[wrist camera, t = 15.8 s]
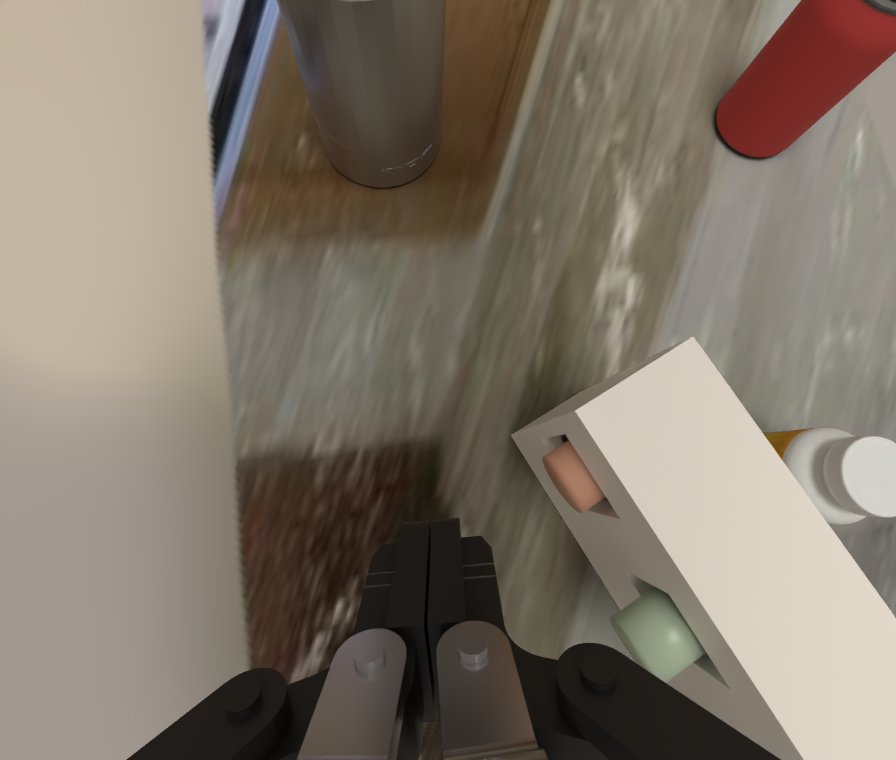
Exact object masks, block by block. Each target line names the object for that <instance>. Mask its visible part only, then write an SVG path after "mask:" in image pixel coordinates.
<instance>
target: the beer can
mask: <svg viewBox="0 0 896 760" xmlns="http://www.w3.org/2000/svg"><path fill="white" fill-rule="evenodd" d="M895 52H896V0H801V1H800V3H799V4H798V5H797V6H796V8H795V9H794V10H793V11H792V13H791V14H790V15H789V16H788V18H787V19H786V20H785V21H784V23H783V24H782V25H781V26H780V28H779V29H778V30H777V31H776V33H775V34H774V35H773V36H772V38H771V39H770V40H769V41H768V43H767V44H766V45H765V46H764V48H763V49H762V50H761V51H760V53H759V54H758V55H757V56H756V58H755V59H754V60H753V61H752V63H751V64H750V65H749V66H748V68H747V69H746V70H745V71H744V73H743V74H742V75H741V76H740V78H739V79H738V80H737V81H736V83H735V84H734V85H733V86H732V88H731V89H730V90H729V91H728V93H727V94H726V95H725V96H724V98H723V99H722V100H721V101H720V104H719V107H718V110H717V114H716V116H717V127H718V129H719V131H720V134H721V136H722V138H723V139H724V140H725V141H726V142H727V144H728V145H729V146H731V147H732V148H733V149H735V150H736V151H738V152H740V153H742V154H745V155H748V156H753V157H767V156H772V155H776V154H778V153H780V152H781V151H783V150H785V149H786V148H787V147H789V146H790V145H791V144H792V143H793V142H794V141H795V140H796V139H798V138H799V137H800V136H801V135H802V134H803V133H804V132H805V131H807V130H808V129H809V128H810V127H811V126H812V125H813V124H814V123H816V122H817V121H818V120H819V119H820V118H821V117H822V116H824V115H825V114H826V113H827V112H828V111H829V110H830V109H831V108H833V107H834V106H835V105H836V104H837V103H838V102H839V101H840V100H842V99H843V98H844V97H845V96H846V95H847V94H848V93H849V92H851V91H852V90H853V89H854V88H855V87H856V86H857V85H858V84H860V83H861V82H862V81H863V80H864V79H865V78H866V77H867V76H869V75H870V74H871V73H872V72H873V71H874V70H875V69H876V68H877V67H879V66H880V65H881V64H882V63H883V62H884V61H886V60H887V59H888V58H889V57H890V56H891V55H892V54H893V53H895Z"/></svg>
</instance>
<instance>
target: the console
mask: <svg viewBox="0 0 896 760" xmlns="http://www.w3.org/2000/svg"><path fill="white" fill-rule="evenodd" d="M511 437H512V438H513V440H514V442H515V443H516V445H517V446H518V448H519V450H520V451H521V453H522V454H523V456H524V458H525V459H526V461H527V462H528V464H529V465H530V467H531V469H532V470H533V472H534V473H535V475H536V477H537V478H538V480H539V481H540V483H541V485H542V486H543V488H544V489H545V491H546V493H547V494H548V496H549V497H550V499H551V501H552V502H553V504H554V505H555V507H556V509H557V510H558V512H559V513H560V515H561V516H562V518H563V520H564V521H565V523H566V524H567V526H568V528H569V529H570V531H571V532H572V534H573V536H574V537H575V539H576V540H577V542H578V544H579V545H580V547H581V548H582V550H583V552H584V553H585V555H586V556H587V558H588V560H589V561H590V563H591V564H592V566H593V568H594V569H595V571H596V572H597V574H598V575H599V577H600V579H601V580H602V582H603V583H604V585H605V587H606V588H607V590H608V591H609V593H610V595H611V596H612V598H613V599H614V601H615V603H616V604H617V606H618V607H619V609H620V610H622V609H623V608H624V607H626V606H627V605H629V604H630V603H631V602H633V601H634V600H635V599H637V598H638V597H640V596H641V595H642V594H644V593H645V592H647V591H648V590H649V589H651V588H652V587H654V586H655V587H657V588H658V589H660V590H662V591H664V592H666V593H668V594H669V595H670V597H671V598H672V600H673V601H674V603H675V604H676V606H677V608H678V609H679V611H680V612H681V614H682V615H683V617H684V618H685V620H686V621H687V623H688V625H689V626H690V628H691V629H692V631H693V632H694V634H695V635H696V637H697V638H698V640H699V642H700V643H701V645H702V646H703V648H704V649H705V651H706V653H705V654H704V655H702V656H701V657H700V658H698V659H697V660H696V661H695V662H693V663H692V664H691V665H689V666H688V667H687V668H685V669H684V670H683V671H681V672H680V673H679V674H677V675H676V676H675V677H673V678H672V679H671V680H669V681H668V682H667V684H668V685H670V686H671V687H673V688H674V689H676V690H677V691H679V692H680V693H682V694H683V695H685V696H686V697H688V698H689V699H691V700H692V701H694V702H695V703H697V704H698V705H700V706H701V707H703V708H704V709H706V710H707V711H709V712H710V713H712V714H713V715H715V716H716V717H718V718H719V719H721V720H722V721H724V722H725V723H727V724H728V725H730V726H731V727H733V728H734V729H736V730H737V731H739V732H740V733H742V734H743V735H745V736H746V737H748V738H749V739H751V740H752V741H754V742H755V743H757V744H758V745H760V746H761V747H763V748H764V749H766V750H767V751H769V752H770V753H772V754H773V755H775V756H776V757H778V758H779V759H781V760H896V618H895V616H894V615H893V614H892V612H891V611H890V609H889V608H888V607H887V605H886V604H885V602H884V601H883V600H882V598H881V597H880V596H879V594H878V593H877V591H876V590H875V589H874V587H873V586H872V584H871V583H870V582H869V580H868V579H867V577H866V576H865V575H864V573H863V572H862V571H861V569H860V568H859V566H858V565H857V564H856V562H855V561H854V559H853V558H852V557H851V555H850V554H849V552H848V551H847V550H846V548H845V547H844V545H843V544H842V543H841V541H840V540H839V539H838V537H837V536H836V534H835V533H834V532H833V530H832V529H831V527H830V526H829V525H828V523H827V522H826V520H825V519H824V518H823V516H822V515H821V513H820V512H819V511H818V509H817V508H816V507H815V505H814V504H813V502H812V501H811V500H810V498H809V497H808V495H807V494H806V493H805V491H804V490H803V488H802V487H801V486H800V484H799V483H798V481H797V480H796V479H795V477H794V476H793V475H792V473H791V472H790V470H789V469H788V468H787V466H786V465H785V463H784V462H783V461H782V459H781V458H780V456H779V455H778V454H777V452H776V451H775V449H774V448H773V447H772V445H771V444H770V443H769V441H768V440H767V438H766V437H765V436H764V434H763V433H762V431H761V430H760V429H759V427H758V426H757V424H756V423H755V422H754V420H753V419H752V417H751V416H750V415H749V413H748V412H747V411H746V409H745V408H744V406H743V405H742V404H741V402H740V401H739V399H738V398H737V397H736V395H735V394H734V392H733V391H732V390H731V388H730V387H729V385H728V384H727V383H726V381H725V380H724V379H723V377H722V376H721V374H720V373H719V372H718V370H717V369H716V367H715V366H714V365H713V363H712V362H711V360H710V359H709V358H708V356H707V355H706V353H705V352H704V351H703V349H702V348H701V347H700V345H699V344H698V342H697V341H696V340H695V338H694V337H691V338H689V339H687V340H685V341H683V342H681V343H679V344H677V345H674V346H672V347H670V348H668V349H666V350H664V351H662V352H660V353H658V354H656V355H654V356H652V357H650V358H648V359H646V360H644V361H642V362H640V363H638V364H636V365H634V366H632V367H630V368H628V369H626V370H624V371H622V372H619V373H617V374H615V375H613V376H611V377H609V378H607V379H605V380H603V381H601V382H599V383H597V384H595V385H593V386H591V387H589V388H587V389H585V390H583V391H581V392H579V393H577V394H576V395H574V396H573V397H571V398H569V399H568V400H566V401H565V402H563V403H561V404H560V405H558V406H557V407H555V408H553V409H552V410H550V411H549V412H547V413H545V414H544V415H542V416H541V417H539V418H537V419H536V420H534V421H533V422H531V423H529V424H528V425H526V426H525V427H523V428H521V429H520V430H518V431H517V432H515V433H513V434H512V435H511ZM568 440H569V441H570V442H571V444H572V445H573V447H574V448H575V450H576V452H577V453H578V455H579V456H580V458H581V459H582V461H583V462H584V464H585V465H586V467H587V469H588V470H589V472H590V473H591V475H592V476H593V478H594V479H595V481H596V482H597V484H598V486H599V487H600V489H601V490H602V492H603V493H604V495H605V496H606V497H605V498H604V499H602V500H601V501H599V502H598V503H596V504H595V505H593V506H592V507H590V508H589V509H587V510H586V511H584V512H583V513H579V512H577V511H576V510H574V509H573V508H572V507H571V506H570V505H569V504H568V503H567V501H566V500H565V499H564V498H563V497H562V495H561V494H560V493H559V491H558V490H557V488H556V487H555V486H554V484H553V482H552V481H551V479H550V477H549V476H548V474H547V472H546V470H545V467H544V465H543V461H542V457H543V456H545V455H546V454H548V453H549V452H551V451H552V450H554V449H556V448H557V447H559V446H560V445H562V444H563V443H565V442H566V441H568Z"/></svg>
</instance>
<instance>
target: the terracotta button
mask: <svg viewBox="0 0 896 760" xmlns="http://www.w3.org/2000/svg"><path fill="white" fill-rule="evenodd" d="M542 461H543V465H544V467H545V470H546V472H547V474H548V476H549V477H550V479H551V481H552V482H553V484H554V486H555V487H556V488H557V490H558V491H559V493H560V494H561V495H562V497H563V498H564V499H565V500H566V501H567V503H568V504H569V505H570V506H571V507H572V508H573V509H574V510H576V511H577V512H579V513H583V512H584V511H586V510H587V509H589V508H590V507H592V506H593V505H595V504H596V503H598V502H599V501H601V500H602V499H604V498H605V497H606V496H605V495H604V493H603V492H602V490H601V489H600V487H599V486H598V484H597V482H596V481H595V479H594V478H593V476H592V475H591V473H590V472H589V470H588V469H587V467H586V465H585V464H584V462H583V461H582V459H581V458H580V456H579V455H578V453H577V452H576V450H575V448H574V447H573V445H572V444H571V442H570V441H569V440H568V441H566V442H565V443H563V444H562V445H560V446H559V447H557V448H556V449H554V450H552V451H551V452H549V453H548V454H546V455H545V456H543V457H542Z"/></svg>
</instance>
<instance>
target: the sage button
mask: <svg viewBox="0 0 896 760" xmlns="http://www.w3.org/2000/svg"><path fill="white" fill-rule="evenodd" d="M610 620H611V623H612V625H613V627H614V629H615V631H616V633H617V634H618V636H619V638H620V639H621V641H622V642H623V644H624V645H625V647H626V648H627V650H628V651H629V653H630V654H631V655H632V657H633V658H634V660H635V661H636V662H637V663H638V665H640V666H641V667H643V668H644V669H646V670H647V671H649V672H650V673H652V674H653V675H655V676H656V677H658V678H659V679H661V680H662V681H664V682H665V683H667V682H668V681H669V680H671V679H672V678H673V677H675V676H676V675H677V674H679V673H680V672H681V671H683V670H684V669H685V668H687V667H688V666H689V665H691V664H692V663H693V662H695V661H696V660H697V659H698V658H700V657H701V656H702V655H704V654H705V653H706V651H705V649H704V648H703V646H702V645H701V643H700V642H699V640H698V638H697V637H696V635H695V634H694V632H693V631H692V629H691V628H690V626H689V625H688V623H687V621H686V620H685V618H684V617H683V615H682V614H681V612H680V611H679V609H678V608H677V606H676V604H675V603H674V601H673V600H672V598H671V597H670V595H669V594H668V593H666V592H664V591H662V590H660V589H658V588H657V587H655V586H654V587H652V588H651V589H649V590H648V591H647V592H645V593H644V594H642V595H641V596H640V597H638V598H637V599H635V600H634V601H633V602H631V603H630V604H629V605H627V606H626V607H624V608H623V609H622V610H620V611H619V612H617V613H616V614H615V615H613V616H612V617H610Z"/></svg>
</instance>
